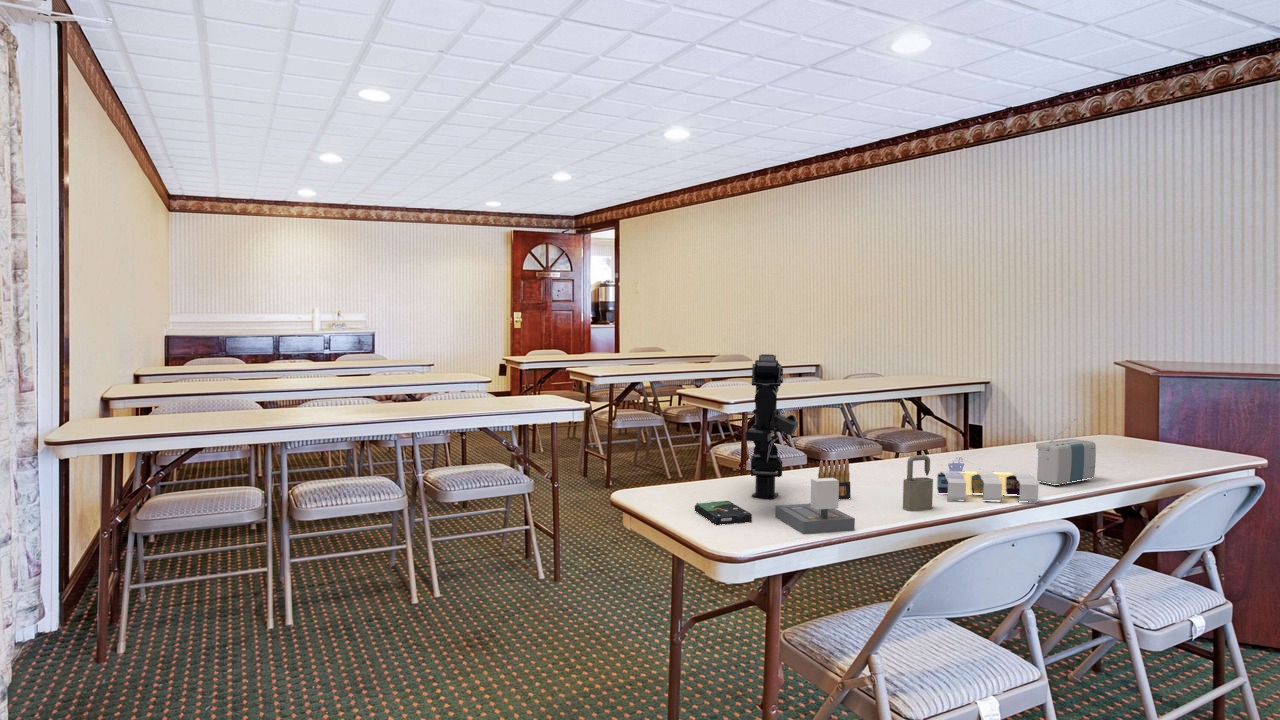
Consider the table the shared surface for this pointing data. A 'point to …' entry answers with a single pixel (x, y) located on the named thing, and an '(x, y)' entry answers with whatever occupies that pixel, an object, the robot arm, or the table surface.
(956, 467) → the diorama
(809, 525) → the panel
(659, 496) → the table surface
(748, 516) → the disk drive
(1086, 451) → the stereo radio cassette player
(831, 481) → the fader knob
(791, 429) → the robot arm
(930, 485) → the padlock
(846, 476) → the ammunition clip
